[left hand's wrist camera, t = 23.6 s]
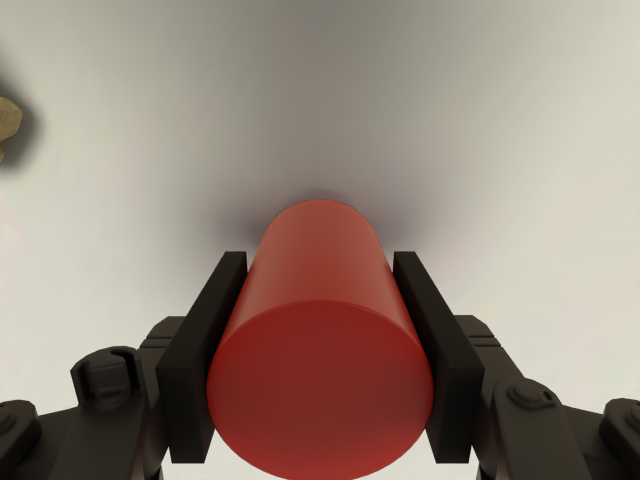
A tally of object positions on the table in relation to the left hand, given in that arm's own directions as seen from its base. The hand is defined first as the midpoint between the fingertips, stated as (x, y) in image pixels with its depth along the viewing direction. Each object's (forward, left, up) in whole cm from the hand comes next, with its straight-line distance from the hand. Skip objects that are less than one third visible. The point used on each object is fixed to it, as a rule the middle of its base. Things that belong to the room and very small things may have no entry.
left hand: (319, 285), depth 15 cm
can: (0, 0, -3) cm, 3 cm away
